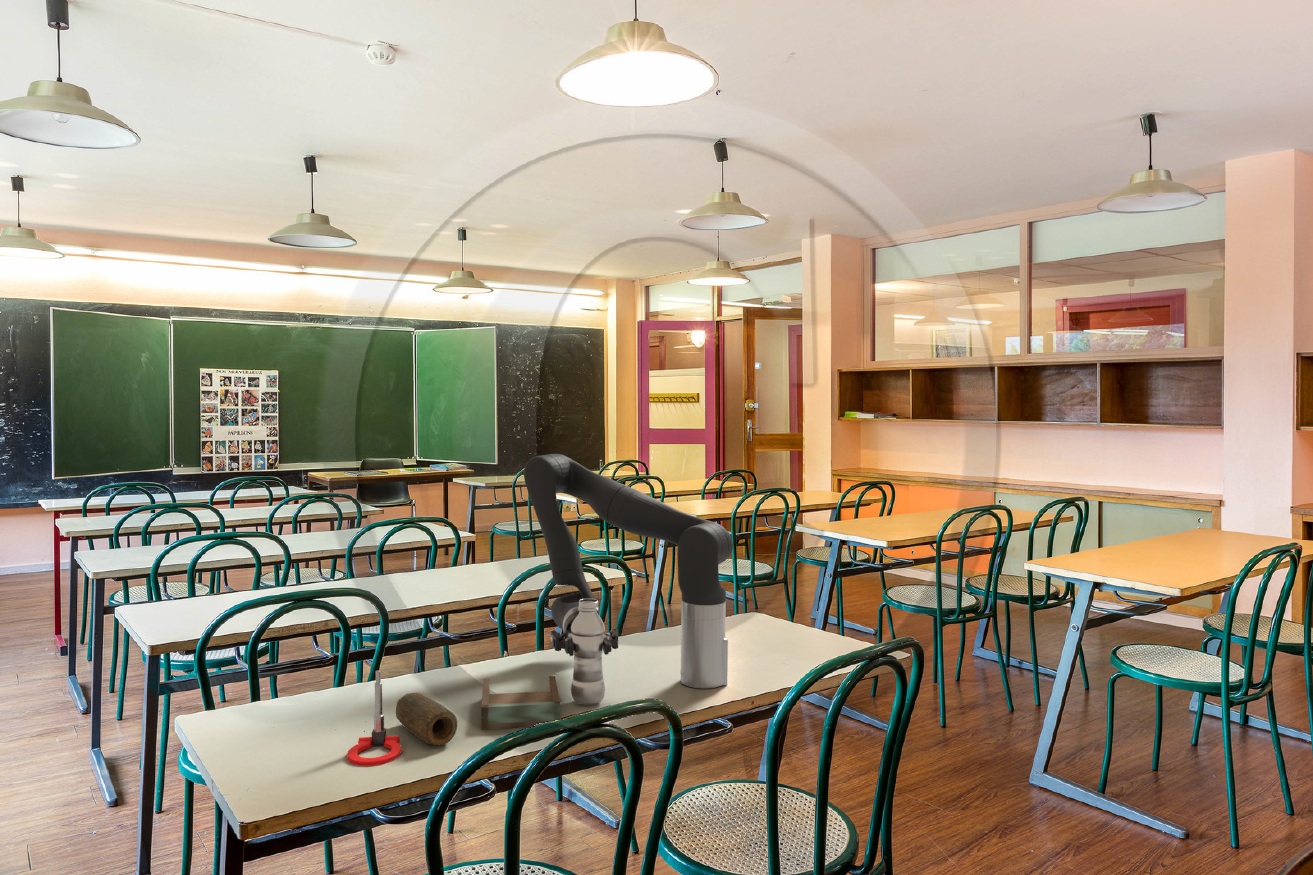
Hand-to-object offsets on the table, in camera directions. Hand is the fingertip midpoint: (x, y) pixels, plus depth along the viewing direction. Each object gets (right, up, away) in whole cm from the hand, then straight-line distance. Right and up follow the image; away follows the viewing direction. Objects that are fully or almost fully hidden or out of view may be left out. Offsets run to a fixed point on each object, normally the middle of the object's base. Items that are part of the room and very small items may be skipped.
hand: (589, 650), depth 164 cm
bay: (-13, -11, -3) cm, 17 cm away
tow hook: (-34, -12, -23) cm, 42 cm away
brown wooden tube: (-27, -12, -14) cm, 33 cm away
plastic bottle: (-1, -11, +3) cm, 11 cm away
